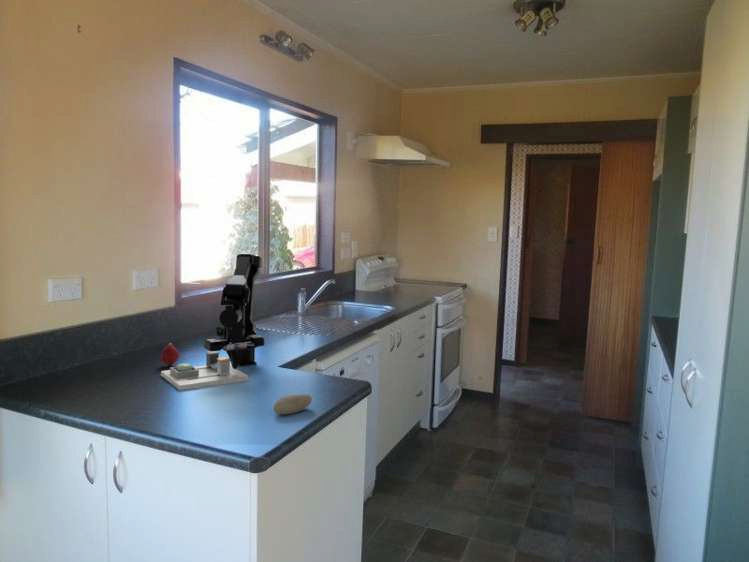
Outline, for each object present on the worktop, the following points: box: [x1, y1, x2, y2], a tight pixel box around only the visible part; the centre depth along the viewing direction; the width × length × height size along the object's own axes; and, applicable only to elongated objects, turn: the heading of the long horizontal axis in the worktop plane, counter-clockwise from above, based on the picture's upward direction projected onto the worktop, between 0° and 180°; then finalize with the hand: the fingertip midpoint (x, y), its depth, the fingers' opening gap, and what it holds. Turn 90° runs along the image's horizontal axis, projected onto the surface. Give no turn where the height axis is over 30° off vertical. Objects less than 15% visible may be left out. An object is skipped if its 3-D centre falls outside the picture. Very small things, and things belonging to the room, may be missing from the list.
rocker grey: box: [210, 362, 217, 369], centre depth 189 cm, size 5×4×1 cm
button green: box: [176, 363, 193, 372], centre depth 181 cm, size 4×4×2 cm
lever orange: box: [217, 356, 231, 376], centre depth 183 cm, size 3×3×5 cm
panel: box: [160, 365, 249, 391], centre depth 184 cm, size 22×18×4 cm
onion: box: [160, 342, 180, 367], centre depth 196 cm, size 6×6×8 cm
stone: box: [273, 393, 313, 415], centre depth 156 cm, size 6×6×12 cm
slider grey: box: [205, 350, 220, 368], centre depth 191 cm, size 3×3×5 cm
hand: (234, 368), depth 186 cm, fingers closed
